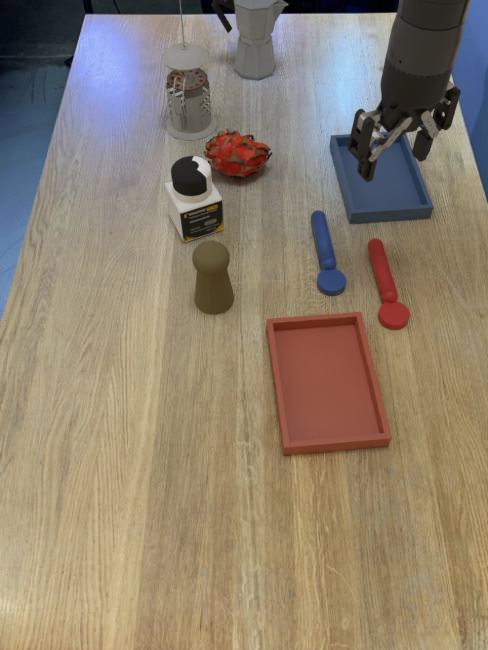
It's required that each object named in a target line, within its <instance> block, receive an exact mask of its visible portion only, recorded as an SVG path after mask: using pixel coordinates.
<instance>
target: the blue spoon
mask: <svg viewBox="0 0 488 650" xmlns="http://www.w3.org/2000/svg"><path fill="white" fill-rule="evenodd" d="M310 222H311V227H312V230H313V235H314V240H315V244H316V249H317V255H318V259H319V265H320V268H321V269H322V270H321V271H320V272H319V273H318V275H317V277H316V287H317V289H318V290H319V291H320V292H321V293H322V294H324V295H327V296H337V295H338V296H339V295H340V294H342V293H343V292H344V290H345V289H346V286H347V277H346V275H345V273H344V272H342V271H341V270H339V269H336V268H337V260H336V256H335V251H334V247H333V242H332V239H331V234H330V229H329V226H328V221H327V217H326V214H325V212H324V211H323V210H321V209H316V210H314V211H313V212H312V213H311V215H310Z"/></svg>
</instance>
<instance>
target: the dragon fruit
mask: <svg viewBox="0 0 488 650" xmlns="http://www.w3.org/2000/svg"><path fill="white" fill-rule="evenodd" d="M225 131H226V132H225ZM225 131H224V130H219V131H218V132H217V135H214V136H212V137H211V138H210V139H209V140H208V141H207V142H205V150H203V151H202V154H204V155H203V156H204V157H205V158H207V159H208V160H207V162H208V163H209V165H210V167H211V171H213V172H215V171H218V170H219V171H220V172H221V173H223V174H224V175H225V176H226V177H227V178H228V179H229V181H230V182H233V181H234V179H235V177H234V176H236V177H242V178H251V177H253V176H254V175H257V174H258V173H259V170H260V169H261V168H262V166H263V165H264V164H266V163H267V162H268V161H269V160H270V158H271V156H272V155H273V152H272V151H271V150H272V149H271V147H270V146H269V145H268V144H266V143H264V142H259V141H256V138H255V136H254V135H253V134H251V133H249V134H246V135H241V134H240V131H239V130H236V129H234V130H233V131H232V132H231V131H230V130H229V128H227V127H226V130H225ZM270 151H271V152H270ZM210 160H211V161H210Z"/></svg>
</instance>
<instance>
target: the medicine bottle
mask: <svg viewBox="0 0 488 650" xmlns="http://www.w3.org/2000/svg"><path fill="white" fill-rule="evenodd" d="M170 176H171V181H168V182H165V183H164V190H165V197H166V202H167V211H168V215H169V217H170V219H171V221H172V223H173V225H174V227H175V229H176V230H177V232H178V235H179V236H180V238H181V240H182V242H183V243H188V242H191V241H193V240H194V241H195V240H197V239H200V238H203V237H206V236H209V235H212V234H215V233H218V232H221V231H223V230H224V229H225V227H224V225H225V224H224V207H223V206H224V205H223V198H222V196H221V194H220V192H219V190H218V189H217V187H216V186H215V184H214V182H213V181H212V169H211V167H210V165H209V163H208V160H206V159H205V158H204V157H203V158H202V157H200V156H197V155H196V156H195V155H188V156H187V155H186V156H184V157H181V158H179V159H177V160H176V161H174V163H173V164H172V165H171V168H170Z"/></svg>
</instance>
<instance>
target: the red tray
mask: <svg viewBox="0 0 488 650" xmlns="http://www.w3.org/2000/svg"><path fill="white" fill-rule="evenodd" d="M363 319H364V318H363V316H362V311H351V312H340V313H339V312H338V313H326V314H314V315H312V314H311V315H300V316H299V315H298V316H288V317H275V318H266V322H265V323H266V325H265V330H266V337H267V345H268V353H269V361H270V367H271V375H272V382H273V389H274V397H275V405H276V412H277V420H278V427H279V433H280V434H279V435H280V442H281V450H282V456H292V455H293V456H294V455H303V454H313V453H314V454H315V453H325V452H336V451H338V452H339V451H347V450H360V449H372V448H381V447H382V448H383V447H389V445H390V443H391V441H392V439H393V438H392V433H391V430H390V425H389V421H388V417H387V412H386V408H385V405H384V402H383V401H384V400H383V396H382V393H381V388H380V385H379V381H378V376H377V373H376V369H375V365H374V360H373V356H372V352H371V347H370V344H369V340H368V335H367V331H366V327H365V323H364V320H363Z"/></svg>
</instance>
